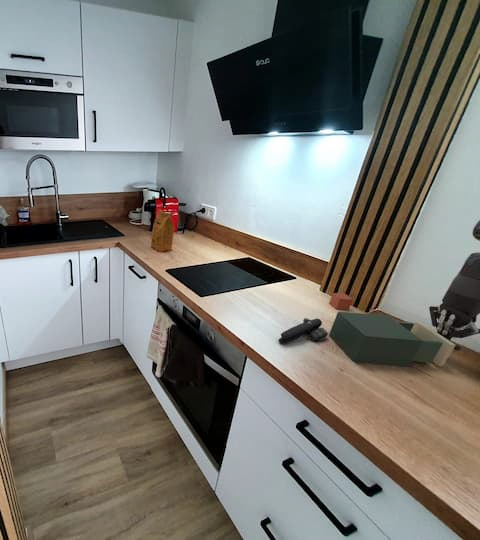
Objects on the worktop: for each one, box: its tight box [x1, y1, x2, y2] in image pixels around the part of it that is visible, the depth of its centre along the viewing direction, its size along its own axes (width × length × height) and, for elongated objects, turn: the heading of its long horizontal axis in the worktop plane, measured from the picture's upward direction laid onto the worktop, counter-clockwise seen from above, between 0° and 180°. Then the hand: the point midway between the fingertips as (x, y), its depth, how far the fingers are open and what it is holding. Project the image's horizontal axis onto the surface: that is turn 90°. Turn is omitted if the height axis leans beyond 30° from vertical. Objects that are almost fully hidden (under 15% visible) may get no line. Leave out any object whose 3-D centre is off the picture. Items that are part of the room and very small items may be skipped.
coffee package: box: [150, 209, 175, 253], centre depth 162 cm, size 10×12×22 cm
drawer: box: [395, 320, 462, 367], centre depth 83 cm, size 18×11×7 cm, turn 84°
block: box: [328, 292, 354, 311], centre depth 109 cm, size 5×5×5 cm
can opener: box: [277, 317, 329, 345], centre depth 89 cm, size 18×7×6 cm, turn 110°
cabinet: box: [328, 311, 423, 368], centre depth 84 cm, size 15×13×9 cm
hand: (438, 344), depth 83 cm, fingers closed
